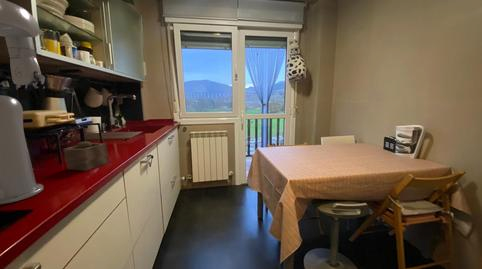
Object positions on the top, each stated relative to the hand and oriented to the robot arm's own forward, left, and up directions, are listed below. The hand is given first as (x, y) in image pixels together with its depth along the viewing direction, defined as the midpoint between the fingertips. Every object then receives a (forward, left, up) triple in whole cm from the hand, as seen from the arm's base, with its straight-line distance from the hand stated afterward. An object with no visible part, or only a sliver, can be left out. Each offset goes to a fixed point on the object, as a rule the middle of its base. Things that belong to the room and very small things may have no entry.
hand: (32, 99), depth 87 cm
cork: (+8, -13, -31) cm, 34 cm away
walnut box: (+8, -13, -30) cm, 34 cm away
